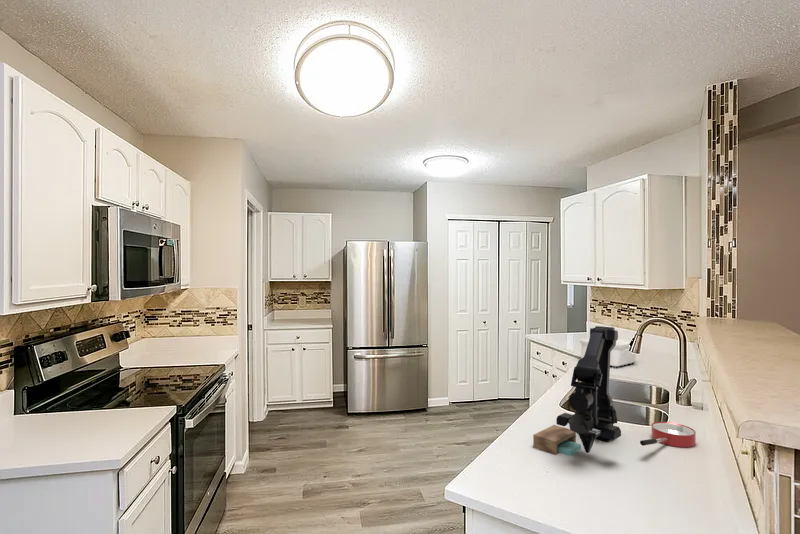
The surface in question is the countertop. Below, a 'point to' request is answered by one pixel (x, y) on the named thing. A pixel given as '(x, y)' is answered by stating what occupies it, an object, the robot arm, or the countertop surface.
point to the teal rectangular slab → (568, 447)
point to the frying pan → (671, 435)
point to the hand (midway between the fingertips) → (587, 452)
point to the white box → (615, 352)
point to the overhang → (552, 438)
